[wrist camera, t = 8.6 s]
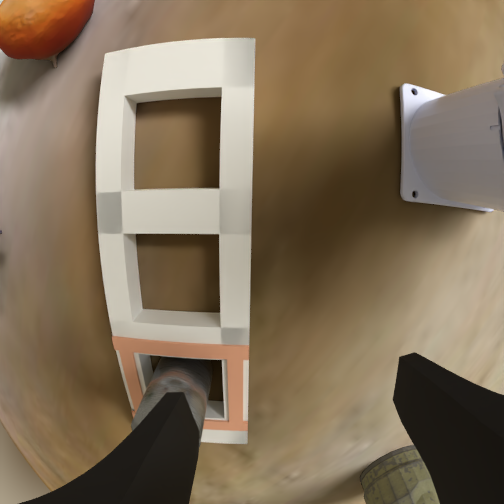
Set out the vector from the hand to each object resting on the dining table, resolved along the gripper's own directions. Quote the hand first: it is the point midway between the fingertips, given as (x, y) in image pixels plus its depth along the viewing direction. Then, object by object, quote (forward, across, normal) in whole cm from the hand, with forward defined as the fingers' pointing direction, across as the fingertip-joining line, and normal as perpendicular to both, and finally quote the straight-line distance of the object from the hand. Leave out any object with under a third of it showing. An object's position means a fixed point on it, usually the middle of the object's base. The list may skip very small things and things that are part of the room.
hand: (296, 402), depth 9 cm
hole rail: (+10, +6, -2) cm, 12 cm away
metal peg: (+10, +7, +5) cm, 14 cm away
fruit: (+11, +12, -22) cm, 28 cm away
